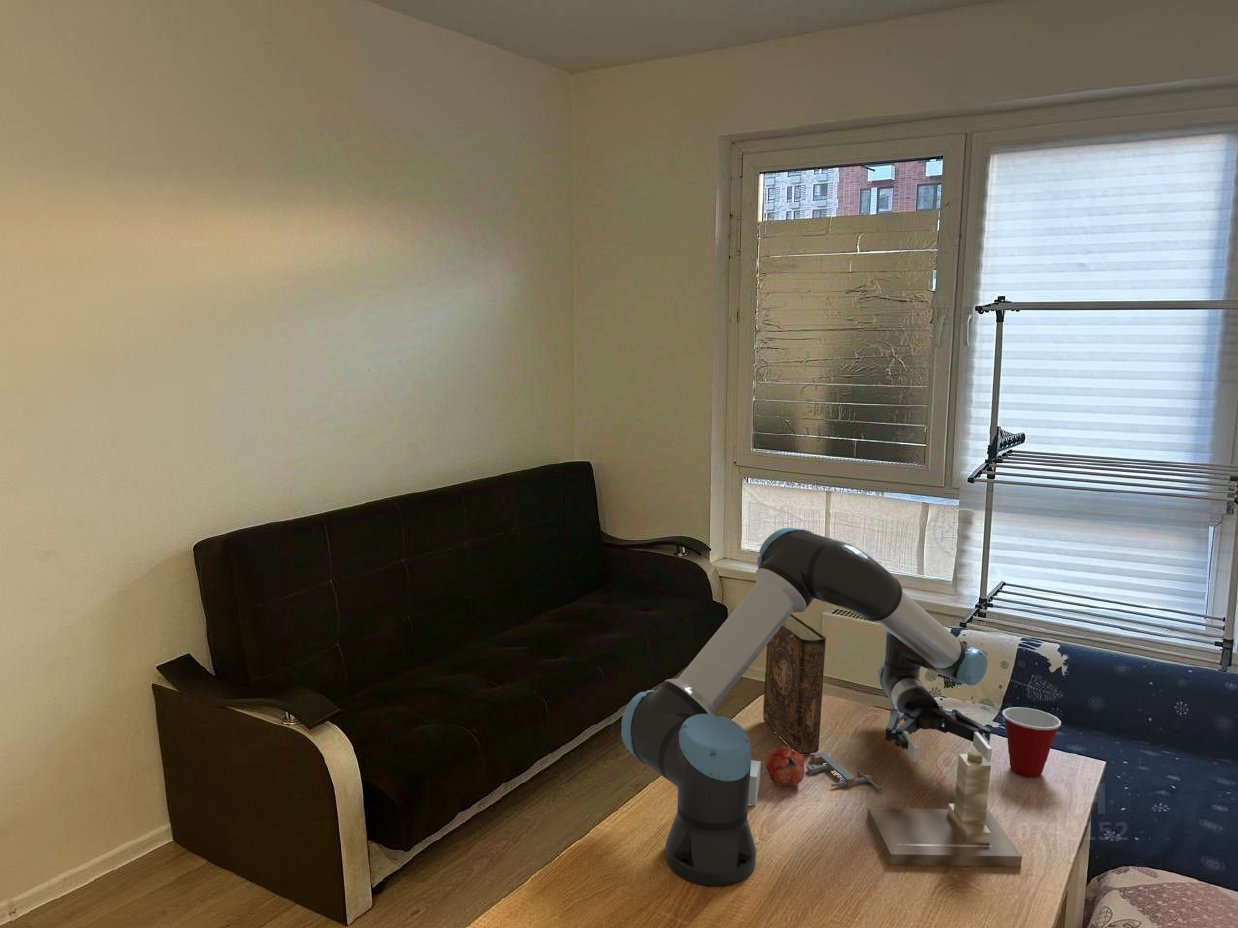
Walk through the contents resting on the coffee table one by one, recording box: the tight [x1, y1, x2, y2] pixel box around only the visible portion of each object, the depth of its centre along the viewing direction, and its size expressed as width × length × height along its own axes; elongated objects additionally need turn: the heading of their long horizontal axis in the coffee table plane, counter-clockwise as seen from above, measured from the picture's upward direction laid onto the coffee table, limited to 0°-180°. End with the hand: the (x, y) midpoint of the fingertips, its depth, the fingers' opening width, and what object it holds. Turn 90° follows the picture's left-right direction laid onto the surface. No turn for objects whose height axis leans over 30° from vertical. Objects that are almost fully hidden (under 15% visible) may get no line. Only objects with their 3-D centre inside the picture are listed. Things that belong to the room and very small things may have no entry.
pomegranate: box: [765, 746, 805, 787], centre depth 178 cm, size 7×7×10 cm
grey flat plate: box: [866, 807, 1023, 868], centre depth 159 cm, size 22×14×2 cm, turn 90°
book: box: [762, 613, 827, 755], centre depth 195 cm, size 16×6×25 cm, turn 17°
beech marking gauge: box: [947, 750, 992, 843], centre depth 159 cm, size 4×9×14 cm, turn 0°
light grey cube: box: [748, 759, 762, 806], centre depth 173 cm, size 6×6×6 cm
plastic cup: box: [1001, 706, 1062, 779], centre depth 183 cm, size 11×11×12 cm
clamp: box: [806, 751, 884, 792], centre depth 180 cm, size 15×2×10 cm
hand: (952, 754), depth 169 cm, fingers open, 13 cm apart
